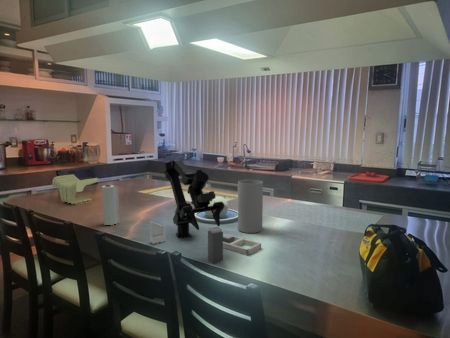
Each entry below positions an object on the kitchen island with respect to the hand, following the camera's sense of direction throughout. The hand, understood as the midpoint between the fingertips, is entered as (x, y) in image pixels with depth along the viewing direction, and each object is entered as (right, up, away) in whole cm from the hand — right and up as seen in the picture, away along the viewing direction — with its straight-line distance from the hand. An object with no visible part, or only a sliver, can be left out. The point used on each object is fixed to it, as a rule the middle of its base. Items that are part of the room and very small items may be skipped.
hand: (208, 227), depth 127 cm
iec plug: (+3, -12, -3) cm, 13 cm away
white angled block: (-24, -10, +18) cm, 32 cm away
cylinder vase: (+19, -8, +34) cm, 40 cm away
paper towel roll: (-56, -7, +43) cm, 71 cm away
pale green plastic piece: (-99, 0, +95) cm, 137 cm away
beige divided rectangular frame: (+12, -10, +12) cm, 20 cm away
